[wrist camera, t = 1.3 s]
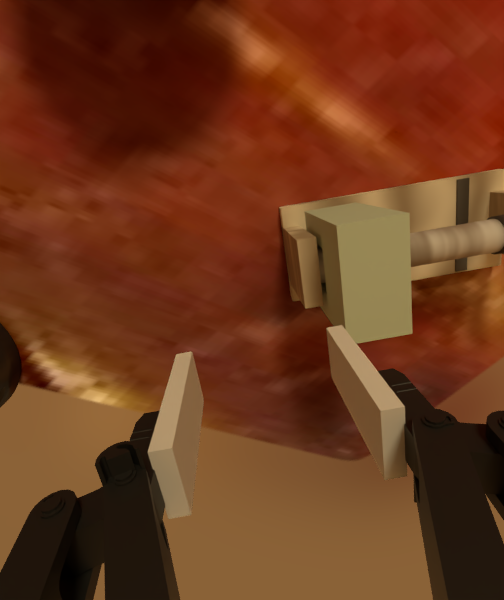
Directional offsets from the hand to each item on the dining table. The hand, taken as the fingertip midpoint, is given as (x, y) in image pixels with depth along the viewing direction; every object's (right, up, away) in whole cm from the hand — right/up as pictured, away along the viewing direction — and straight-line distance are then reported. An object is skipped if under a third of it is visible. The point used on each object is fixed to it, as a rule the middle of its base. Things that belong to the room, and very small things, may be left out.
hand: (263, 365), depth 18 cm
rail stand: (+14, +10, +22) cm, 28 cm away
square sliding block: (+8, +8, +19) cm, 22 cm away
